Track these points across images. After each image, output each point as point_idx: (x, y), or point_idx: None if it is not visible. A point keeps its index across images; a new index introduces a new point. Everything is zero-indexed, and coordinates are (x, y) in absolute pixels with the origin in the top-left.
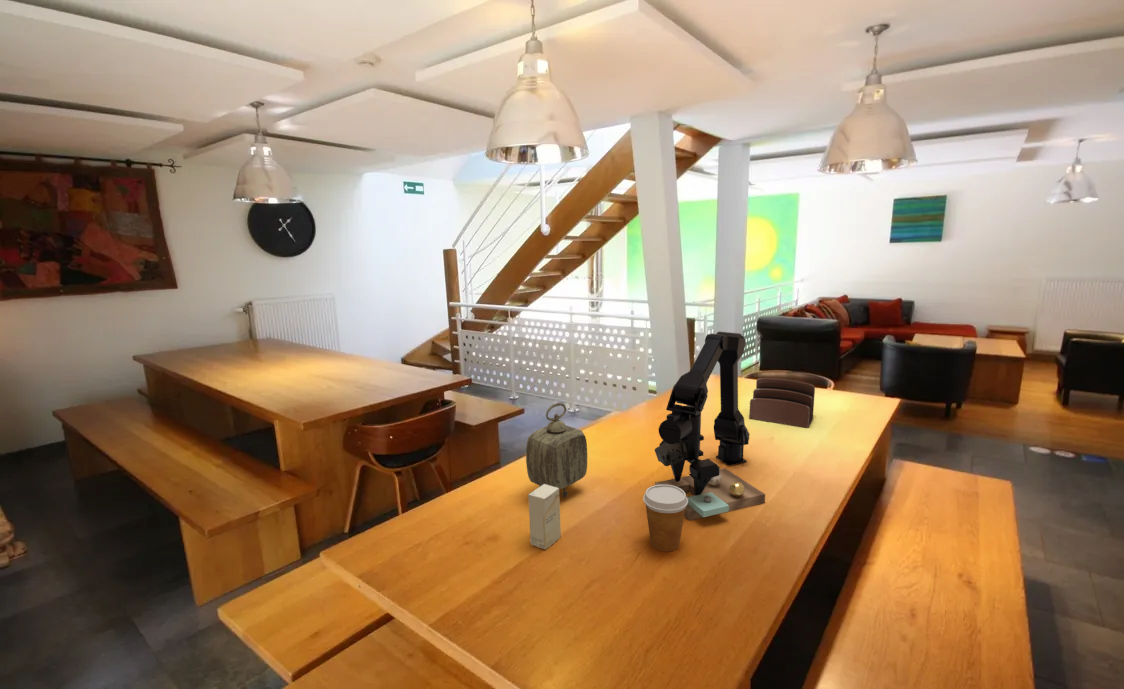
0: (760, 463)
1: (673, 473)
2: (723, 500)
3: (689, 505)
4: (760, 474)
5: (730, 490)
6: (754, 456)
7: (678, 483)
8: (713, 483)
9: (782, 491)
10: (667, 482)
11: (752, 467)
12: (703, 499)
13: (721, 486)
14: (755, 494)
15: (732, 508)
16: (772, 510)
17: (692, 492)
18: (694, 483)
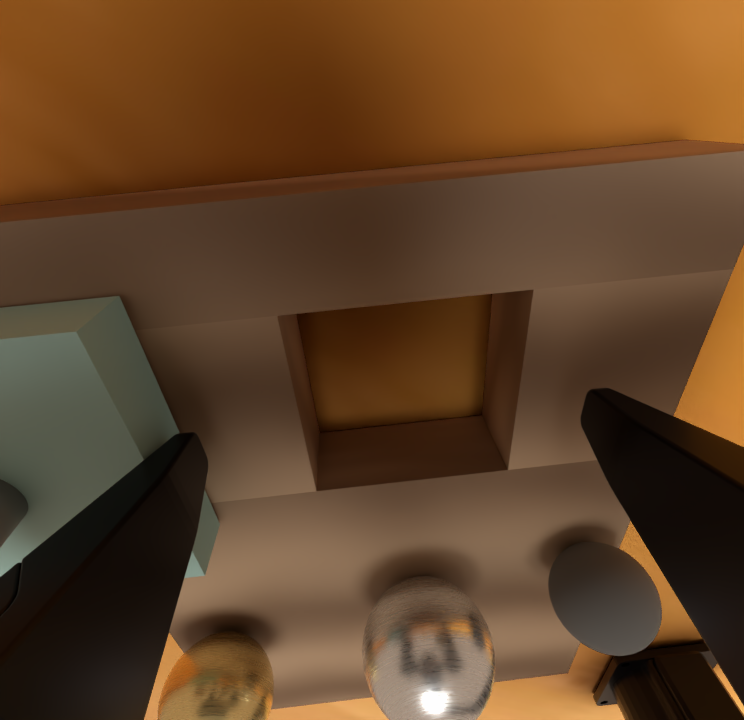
0: (554, 715)
1: (699, 433)
2: None
3: (49, 303)
4: None
5: (208, 668)
6: (612, 716)
7: (576, 396)
8: (371, 618)
9: (321, 709)
10: (667, 303)
11: (545, 696)
12: (35, 482)
13: None
14: None
15: None
16: (163, 656)
17: (444, 435)
18: (18, 611)
